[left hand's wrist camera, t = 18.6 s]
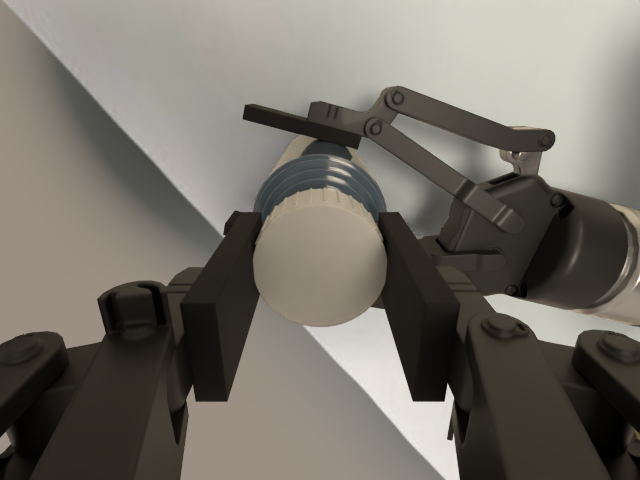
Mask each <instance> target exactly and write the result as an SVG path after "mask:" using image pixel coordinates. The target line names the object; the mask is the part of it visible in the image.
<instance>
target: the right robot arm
mask: <svg viewBox="0 0 640 480" xmlns="http://www.w3.org/2000/svg"><path fill="white" fill-rule="evenodd" d="M398 113H400V114H403V115H406V116H408V117H411V118H414V119H416V120H419V121H422V122H424V123H427V124H430V125H432V126H435V127H438V128H441V129H443V130H446V131H449V132H451V133H454V134H457V135H459V136H462V137H465V138H467V139H470V140H473V141H476V142H478V143H481V144H484V145H488V146H491V147H495V148H498V149H499V152H500V157H501V159H502V160H504V161H506V162H509V163H511V164H512V165H513V167H514V172H511V173H509V174H506V175H503V176H500V177H498V178H495V179H492V180H489V181H487V182H484V183H481V184H479V185H476V184H475V183H473V182H471V181H470V180H468V179H467V178H465V177H464V176H463V175H461V174H460V173H458V172H457V171H455V170H454V169H453V168H451V167H450V166H448V165H447V164H445V163H444V162H443V161H441V160H440V159H438V158H437V157H435V156H434V155H433V154H431V153H430V152H428V151H427V150H425V149H424V148H423V147H421V146H420V145H418V144H417V143H415V142H414V141H413V140H411V139H410V138H408V137H407V136H405V135H404V134H403V133H401V132H400V131H398V130H397V129H395V128H394V127H393V126H391V125H390V124H391V123H392V121H393V120H394V118H395V117H396V116H397V114H398ZM243 119H244V120H248V121H252V122H255V123H259V124H263V125H267V126H271V127H274V128H278V129H282V130H286V131H289V132H293V133H297V134H301V135H305V136H308V137H312V138H316V139H320V140H324V141H327V142H331V143H335V144H339V145H342V146H346V147H350V148H354V149H358V146H359V143H360V139H361V136H363V137H367V138H370V139H371V140H373V141H374V142H376V143H377V144H378V145H380V146H381V147H383V148H384V149H386V150H387V151H389V152H390V153H392V154H393V155H395V156H396V157H398V158H399V159H400V160H402V161H403V162H405V163H406V164H408V165H409V166H411V167H412V168H414V169H415V170H417V171H418V172H420V173H421V174H422V175H424V176H425V177H427V178H428V179H430V180H431V181H433V182H434V183H436V184H437V185H439V186H440V187H442V188H443V189H445V190H446V191H447V192H449V193H450V194H452V195H453V196H455V197H454V200H453V202H452V204H451V207H450V214H449V219H448V221H447V222H446V224H445V225H444V226H443V228H442V229H441V232H440V234H439V236H426V237H423V238H422V239H419V240H418V242H419V243H420V245H421V246H422V247H423V249H424V250H425V252H426V253H427V255H428V256H429V258H430V259H431V261H432V262H433V264H434V265H435V266H452V267H454V268H456V269H458V270H459V271H461V272H463V273H464V274H465V275H466V276H467V277H468V278H469V280H470V281H471V282H472V284H474V286H475V287H476V288H477V289H478V292H480V293H481V294H482V295H483V296H489V295H493V294H505V295H509V296H512V297H515V298H518V299H522V300H526V301H530V302H534V303H539V304H543V305H547V306H551V307H556V308H560V309H565V310H571V311H574V312H576V313H580V314H585V315H589V316H594V317H598V318H603V319H607V320H612V321H616V322H621V323H625V324H628V325H632V326H639V327H640V211H639V210H636V209H632V208H628V207H625V206H621V205H616V204H611V203H607V202H605V201H602V200H599V199H595V198H591V197H587V196H584V195H580V194H576V193H573V192H569V191H565V190H561V189H558V188H554V187H550V186H549V185H548V184H547V183H546V182H545V181H544V179H543V178H542V177H540V176H538V170H539V165H540V160H541V155H542V152H543V151H547V150H549V149H550V148H551V147H552V146H553V145H554V142H555V134H554V132H552V131H551V130H547V129H540V128H533V127H526V126H511V127H507V126H504V125H501V124H499V123H496V122H494V121H491V120H488V119H486V118H483V117H480V116H478V115H475V114H473V113H470V112H467V111H465V110H462V109H459V108H457V107H454V106H452V105H449V104H446V103H444V102H441V101H439V100H436V99H433V98H431V97H428V96H425V95H423V94H420V93H418V92H415V91H412V90H410V89H407V88H404V87H401V86H394V87H388V88H385V89H384V90H383V91H382V92H381V94H380V97H379V98H378V100H377V101H376V103H375V104H374V106H373V107H372V108H371V109H370V110H368V111H365V112H358V111H354V110H351V109H347V108H343V107H340V106H336V105H333V104H329V103H325V102H322V101H318V102H311V104H310V109H309V113H308V117H307V118H304V117H301V116H297V115H293V114H289V113H286V112H282V111H278V110H275V109H271V108H267V107H263V106H260V105H256V104H248V105H245V108H244V114H243ZM240 214H241V212H239V211H234V213H233V214H232V215H231V217H230V218H229V219H228V221H227V222H226V223H225V228H224V234H223V235H227V233H228V232H229V230H230V229H231V227H232V226H233V224H234V223H235V221H236V220H237V218H238V217H239V215H240ZM371 307H375V308H381V309H385V308H384V305H383V301H382V298H381V295H379V296H378V298H377V300H376V301H375V302H374V303H373V304H372V306H371Z"/></svg>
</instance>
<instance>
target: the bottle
mask: <svg viewBox="0 0 640 480" xmlns="http://www.w3.org/2000/svg"><path fill="white" fill-rule="evenodd" d="M310 188H312V189H324V188H326V189H330V190H335V191H337V190H339V191H340V192H341V193H344V194H346V195H348V196H350V195H351V196H352V198H353V199H355V200H356V201H358V202H359V203H362V204H363V206H364V208H365V209H366V210H367V211H368V213H369V212H370V213H371V215H372V217H373V219H374V222H375V223H376V224H377V226H378V217H379V212H387V210H386V204H385V201H384V197H383V195H382V193H381V190H380V188H379V187H378V185H377V184H376V182H375V180H374V179H373V177H372V176H371V174H370V173H369V171H368V170H367V168H366V167H365V165H364V163H363V162H362V160H361V159H360V157H359V156H358V154H357V153H356V151H355V150H354V148H350V147H346V146H342V145H339V144H335V143H331V142H327V141H324V140H320V139H316V138H312V137H308V136H305V135H301V134H300V135H299V136H297V137H296V138H295V139H294V140H293V141H292V142H291V143H290V144H289V145H288V147H287V148H286V150H285V151H284V153H283V154H282V156H281V157H280V159H279V161H278V162H277V164H276V165H275V167H274V168H273V170H272V171H271V173H270V174H269V176H268V177H267V179H266V181H265V182H264V184H263V185H262V187H261V188H260V190H259V193H258V195H257V197H256V201H255V204H254V210H253V212H261V213H262V227H263V225H264V223H265V220H266V218H267V216H270V214H271V213H272V211H273V210H274V207H275V206H278V205H279V204H280V203H281V202H282V201H284V199H285V198H286V197H287V198H288V197H290V196H292V195H294V194H296V193H297V192H298V191H299V192H302V191H305V190H310Z"/></svg>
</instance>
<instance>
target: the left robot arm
mask: <svg viewBox="0 0 640 480" xmlns="http://www.w3.org/2000/svg"><path fill="white" fill-rule="evenodd" d="M378 228H379V231H380V233H381V235H382V237H383V240H384V241H382V242H383V244H384V247H385V250H386V254H387V270H386V281H385V284H384V287H383V289H382V291H381V293H380V295H381V298H382V301H383V305H384V308H385V311H386V314H387V318H388V321H389V324H390V328H391V331H392V334H393V337H394V341H395V344H396V347H397V351H398V354H399V357H400V360H401V364H402V367H403V370H404V374H405V377H406V380H407V383H408V387H409V390H410V393H411V397H412V400H413V401H426V402H444V401H445V395H446V389H447V383H448V385H449V387H450V389H451V391H452V393H453V396H454V402H453V408H452V413H451V419H450V425H449V430H448V437H447V440H452V439H453V433H454V438H455V445H456V453H457V461H458V468H459V476H460V480H640V452H638V451H637V450H636V449H635V448H634V447H633V446H632V444H631V443H630V441H631V438H632V436H633V434H634V432H635V430H636V431H637V432H638V433H639V434H640V342H638V341H636V340H634V339H631V338H629V337H627V336H626V335H623V334H620V333H615V332H612V331H603V330H588V331H583V332H582V333H581V334H580V335H578V339H577V342H576V345H575V347H571V346H566V345H560V344H555V343H550V342H545V341H541V340H538V339H537V337H536V335H535V334H534V332H533V331H532V330H531V329H530V327H529V326H528V325H526V324H525V323H523V322H522V321H520V320H518V319H516V318H514V317H511V316H509V315H506V314H501V313H496V311H495V310H494V309H493V308H492V306H491V305H490V304H489V303H488V302H487V300H486V299H485V298H484V297H483V295H482V294H481V293H480V292H478V289H477V288H476V287H475V286H474V284H472V282H471V281H470V280H469V278H468V277H467V276H466V275H465V274H464V273H463V272H461V271H459V270H458V269H456V268H454V267H452V266H435V265H434V264H433V262H432V261H431V259H430V258H429V256H428V255H427V253H426V252H425V250H424V249H423V247H422V246H421V245H420V243H419V242H418V240H417V239H416V237H415V236H414V234H413V233H412V231H411V230H410V228H409V227H408V225H407V224H406V222H405V221H404V219H403V218H402V217H401V215H400V214H399V212H379V217H378ZM261 229H262V213H261V212H241V214H240V215H239V217H238V218H237V220H236V221H235V223H234V224H233V226H232V227H231V229H230V230H229V232H228V233H227V235H226V236H225V238H224V239H223V241H222V242H221V244H220V245H219V246H218V248H217V249H216V251H215V252H214V254H213V255H212V257H211V258H210V260H209V261H208V263H207V264H206V266H205V267H188V268H187V269H185V270H183V271H182V272H180V273H178V274H177V275H175V276H174V278H173V279H172V280H171V282H170V283H169V284H168V286H164V285H163V284H162V283H160V282H156V281H136V282H130V283H125V284H122V285H119V286H116V287H114V288H112V289H110V290H108V291H106V292H104V293H103V294H102V295H101V296H100V297H99V298H98V299H97V301H98V305H99V309H100V312H101V316H102V320H103V324H104V327H105V331H106V334H105V336H104V338H103V340H102V342H99V343H94V344H89V345H84V346H79V347H73V348H68V349H66V347H65V344H64V341H63V338H62V336H60V335H59V334H58V333H55V332H48V331H45V332H33V333H27V334H26V335H24V334H23V335H20V336H17V337H15V338H13V339H11V340H9V341H7V342H4V343H2V344H1V345H0V437H1V436H2V435H3V434H4V433H5V432H6V433H7V435H8V438H9V440H10V442H11V445H10V446H9V447H8V448H7V449H6V450H5V451H4V452H3V453H2V454H1V455H0V480H180V476H181V469H182V461H183V454H184V446H185V439H186V431H187V423H188V416H189V415H188V408H187V402H186V398H187V396H188V394H189V392H190V389H191V387H192V385H193V387H194V393H195V399H196V401H197V402H201V401H202V402H203V401H205V402H206V401H207V402H210V401H212V402H213V401H215V402H219V401H221V402H223V401H224V402H225V401H228V397H229V394H230V391H231V388H232V384H233V381H234V378H235V374H236V371H237V368H238V365H239V361H240V358H241V355H242V351H243V348H244V345H245V341H246V338H247V335H248V331H249V328H250V325H251V322H252V318H253V315H254V312H255V309H256V305H257V302H258V299H259V295H260V293H259V291H258V289H257V287H256V284H255V280H254V267H253V254H254V251H255V247H256V245H255V243H256V240H257V238H258V236H259V233H260V231H261Z"/></svg>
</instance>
